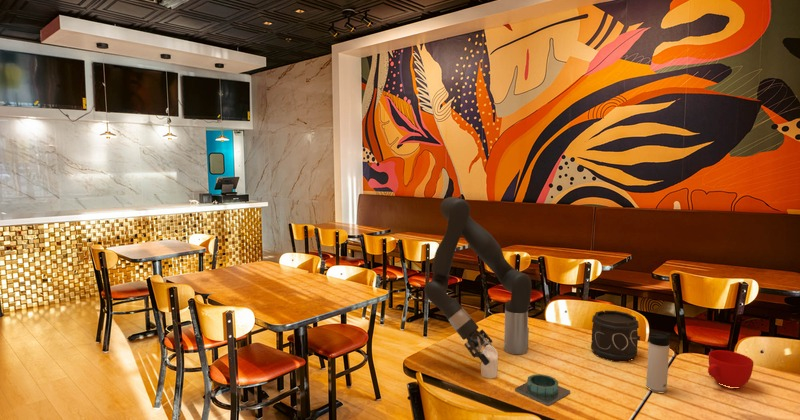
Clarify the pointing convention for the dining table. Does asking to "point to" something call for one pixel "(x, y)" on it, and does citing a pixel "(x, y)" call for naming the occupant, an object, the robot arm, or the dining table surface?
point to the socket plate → (543, 399)
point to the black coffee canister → (615, 335)
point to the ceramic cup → (730, 368)
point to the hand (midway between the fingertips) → (491, 359)
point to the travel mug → (658, 361)
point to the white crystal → (491, 367)
